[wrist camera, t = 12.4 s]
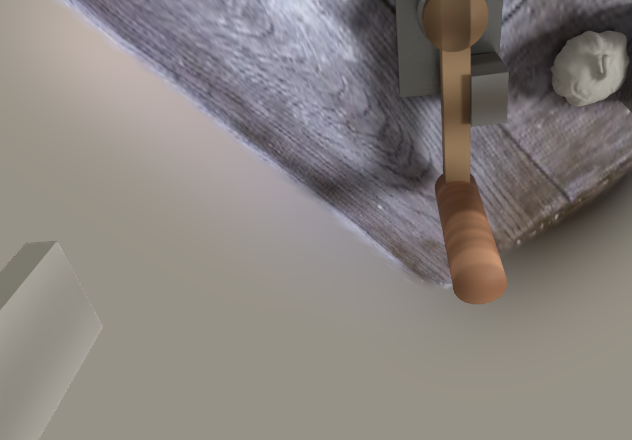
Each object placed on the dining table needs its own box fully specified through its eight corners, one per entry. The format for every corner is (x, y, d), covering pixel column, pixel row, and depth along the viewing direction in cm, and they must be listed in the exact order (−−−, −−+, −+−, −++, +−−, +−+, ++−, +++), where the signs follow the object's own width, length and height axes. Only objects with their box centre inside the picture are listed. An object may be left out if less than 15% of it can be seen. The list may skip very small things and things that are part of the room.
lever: (418, -20, 38) (439, 39, 26) (498, -33, 37) (560, 22, 25) (429, 193, 49) (448, 305, 37) (492, 188, 48) (532, 301, 36)
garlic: (571, 10, 40) (594, 29, 35) (633, 33, 40) (664, 54, 36) (529, 81, 43) (546, 106, 39) (587, 102, 44) (610, 128, 39)
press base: (392, -61, 38) (393, -56, 35) (505, -77, 37) (514, -73, 34) (399, 94, 45) (401, 107, 42) (495, 84, 43) (502, 97, 41)
